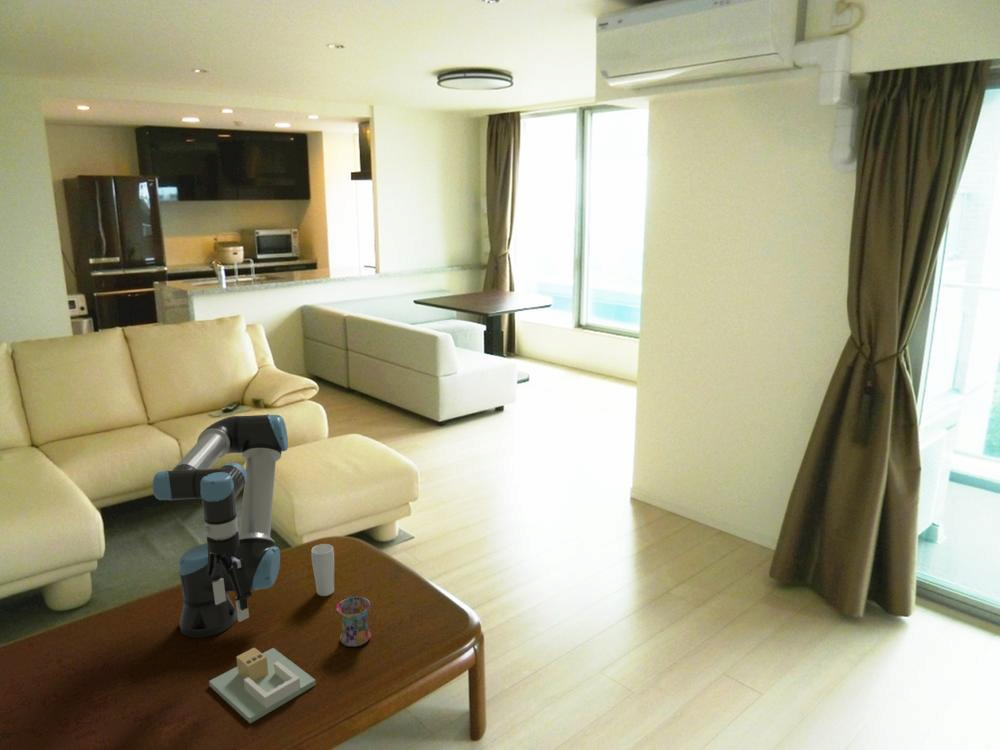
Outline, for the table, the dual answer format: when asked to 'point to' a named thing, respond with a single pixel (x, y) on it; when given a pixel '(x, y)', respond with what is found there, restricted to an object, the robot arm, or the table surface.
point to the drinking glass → (323, 568)
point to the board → (263, 687)
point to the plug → (252, 664)
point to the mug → (354, 621)
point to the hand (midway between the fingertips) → (231, 610)
